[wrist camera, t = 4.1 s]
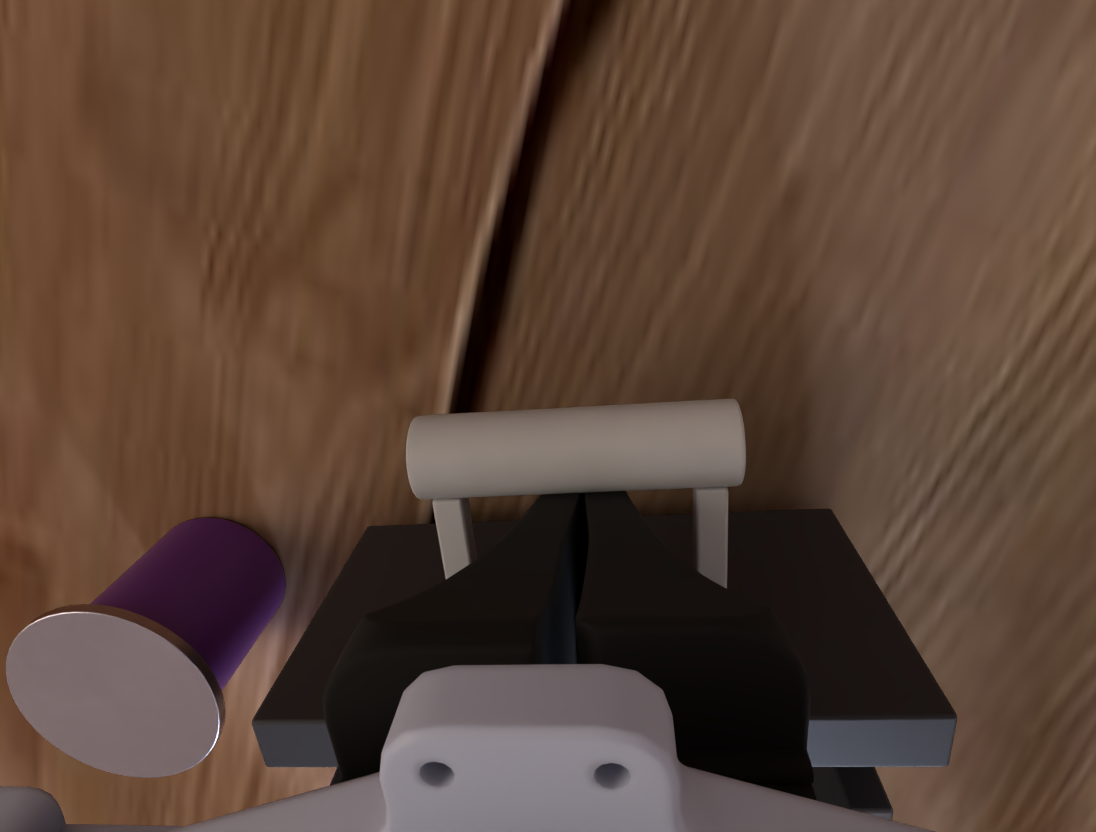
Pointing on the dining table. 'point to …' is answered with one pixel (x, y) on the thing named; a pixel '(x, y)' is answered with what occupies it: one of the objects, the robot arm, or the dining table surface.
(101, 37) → the dining table surface
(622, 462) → the pod drawer
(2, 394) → the dining table surface
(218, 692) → the coffee pod
